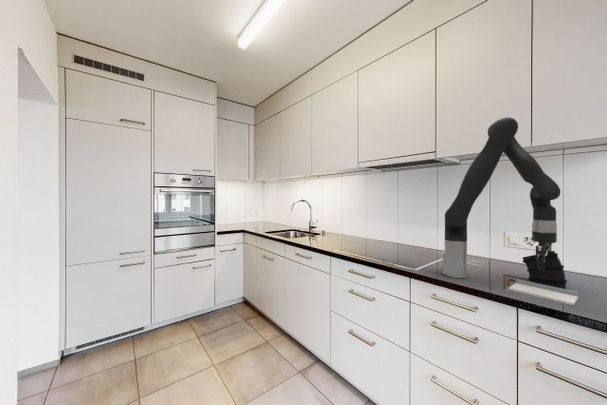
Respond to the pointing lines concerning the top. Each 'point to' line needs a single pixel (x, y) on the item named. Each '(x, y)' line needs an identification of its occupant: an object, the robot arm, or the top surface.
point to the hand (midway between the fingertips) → (543, 268)
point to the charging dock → (545, 291)
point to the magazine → (546, 271)
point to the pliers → (474, 264)
